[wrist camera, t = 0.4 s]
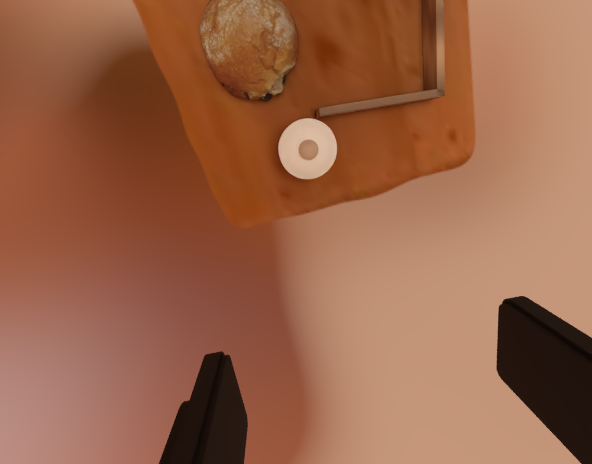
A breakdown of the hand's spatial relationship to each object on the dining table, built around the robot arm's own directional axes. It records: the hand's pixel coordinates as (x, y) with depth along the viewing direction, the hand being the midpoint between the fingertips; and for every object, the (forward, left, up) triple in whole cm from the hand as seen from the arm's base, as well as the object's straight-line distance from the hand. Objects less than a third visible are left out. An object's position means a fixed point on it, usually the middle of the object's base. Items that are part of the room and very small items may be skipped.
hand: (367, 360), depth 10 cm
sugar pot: (-6, +1, -29) cm, 30 cm away
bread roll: (-17, -3, -30) cm, 34 cm away
